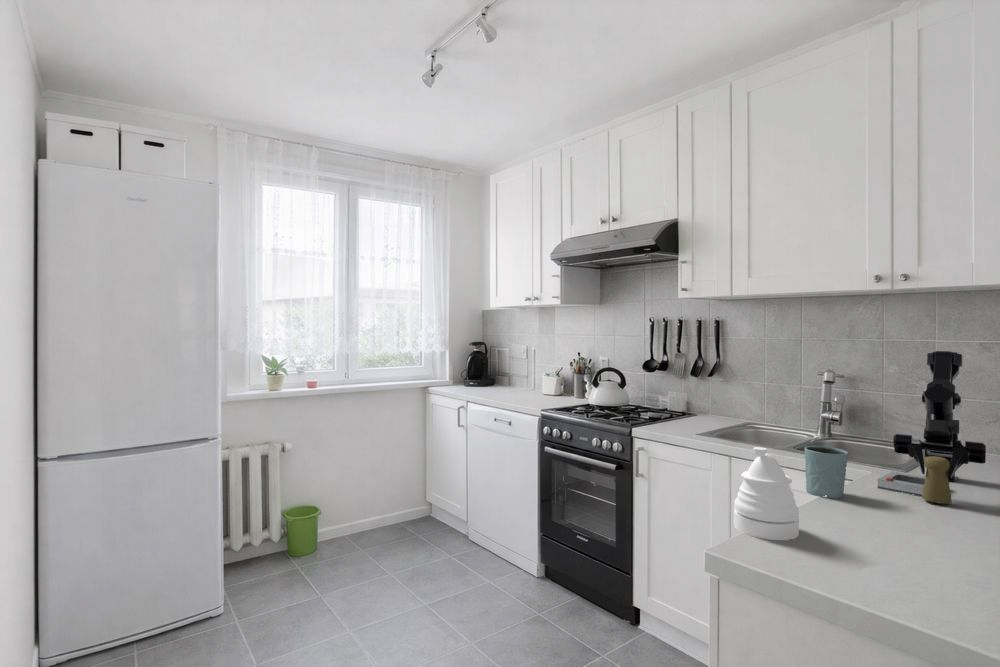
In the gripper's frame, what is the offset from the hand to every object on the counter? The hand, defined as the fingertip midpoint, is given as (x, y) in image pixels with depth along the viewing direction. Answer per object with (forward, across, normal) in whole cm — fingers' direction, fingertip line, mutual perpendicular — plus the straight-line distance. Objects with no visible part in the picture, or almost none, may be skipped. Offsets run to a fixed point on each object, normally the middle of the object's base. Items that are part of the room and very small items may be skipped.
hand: (936, 475), depth 138 cm
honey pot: (+40, -27, -30) cm, 57 cm away
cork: (+4, 0, +6) cm, 7 cm away
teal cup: (+12, -23, -1) cm, 26 cm away
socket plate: (-4, -6, +15) cm, 17 cm away
